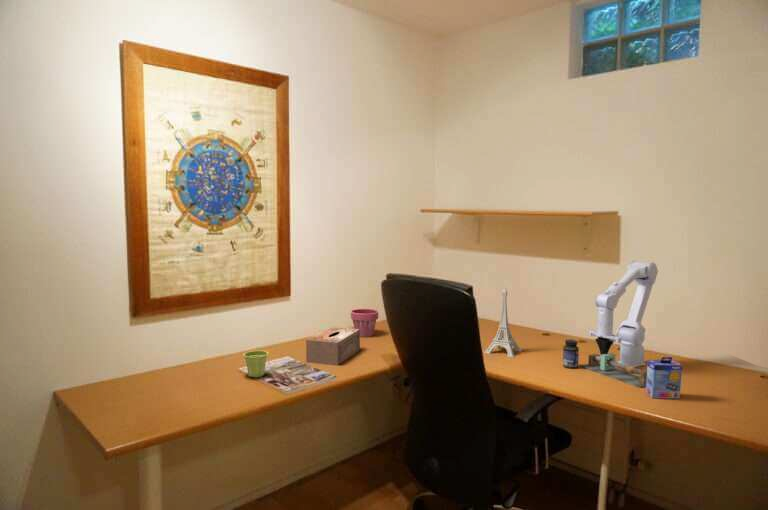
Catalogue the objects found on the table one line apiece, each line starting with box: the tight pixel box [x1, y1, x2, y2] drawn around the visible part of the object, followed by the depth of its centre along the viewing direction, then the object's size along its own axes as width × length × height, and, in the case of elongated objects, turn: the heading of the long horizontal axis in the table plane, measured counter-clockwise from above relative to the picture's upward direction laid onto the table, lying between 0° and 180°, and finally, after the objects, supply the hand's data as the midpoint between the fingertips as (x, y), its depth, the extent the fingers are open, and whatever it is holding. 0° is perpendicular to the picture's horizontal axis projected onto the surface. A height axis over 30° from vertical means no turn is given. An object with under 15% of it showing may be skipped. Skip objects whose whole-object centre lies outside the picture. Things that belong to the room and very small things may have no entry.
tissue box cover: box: [305, 326, 361, 366], centre depth 227 cm, size 26×14×10 cm, turn 161°
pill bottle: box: [562, 339, 580, 370], centre depth 212 cm, size 6×6×11 cm
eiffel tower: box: [484, 287, 523, 358], centre depth 234 cm, size 13×13×30 cm
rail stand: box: [580, 353, 647, 389], centre depth 202 cm, size 28×10×5 cm, turn 25°
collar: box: [600, 352, 617, 371], centre depth 206 cm, size 2×6×6 cm, turn 115°
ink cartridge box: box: [645, 356, 683, 400], centre depth 179 cm, size 10×6×14 cm, turn 90°
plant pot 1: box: [243, 350, 269, 378], centre depth 200 cm, size 9×9×9 cm
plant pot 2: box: [350, 308, 379, 338], centre depth 265 cm, size 14×14×13 cm
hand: (603, 356), depth 208 cm, fingers closed
